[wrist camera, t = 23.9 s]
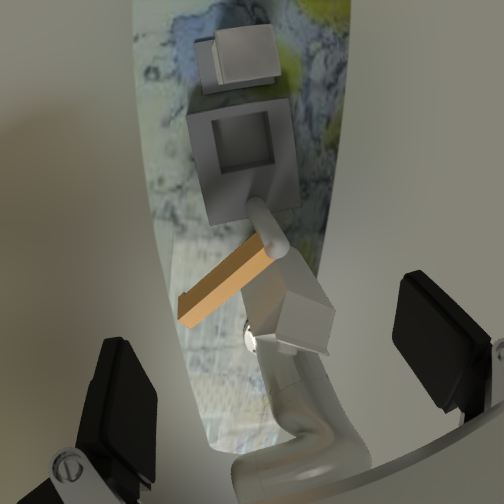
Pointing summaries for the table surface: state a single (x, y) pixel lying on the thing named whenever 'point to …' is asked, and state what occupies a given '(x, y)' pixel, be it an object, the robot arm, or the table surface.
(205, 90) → the mat
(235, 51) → the plug
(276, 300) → the milk carton
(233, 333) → the table surface
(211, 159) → the socket
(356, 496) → the robot arm
